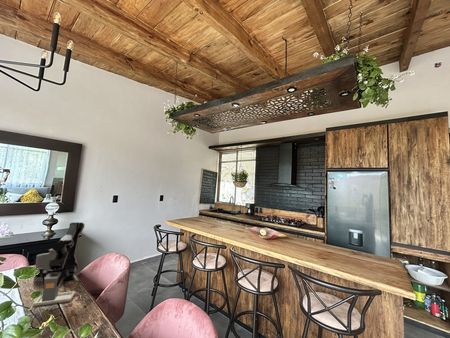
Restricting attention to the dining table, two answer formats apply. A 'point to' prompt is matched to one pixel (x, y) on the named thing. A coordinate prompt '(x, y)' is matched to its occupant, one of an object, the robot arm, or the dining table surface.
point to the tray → (59, 299)
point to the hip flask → (44, 262)
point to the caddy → (50, 287)
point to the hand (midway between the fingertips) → (50, 287)
